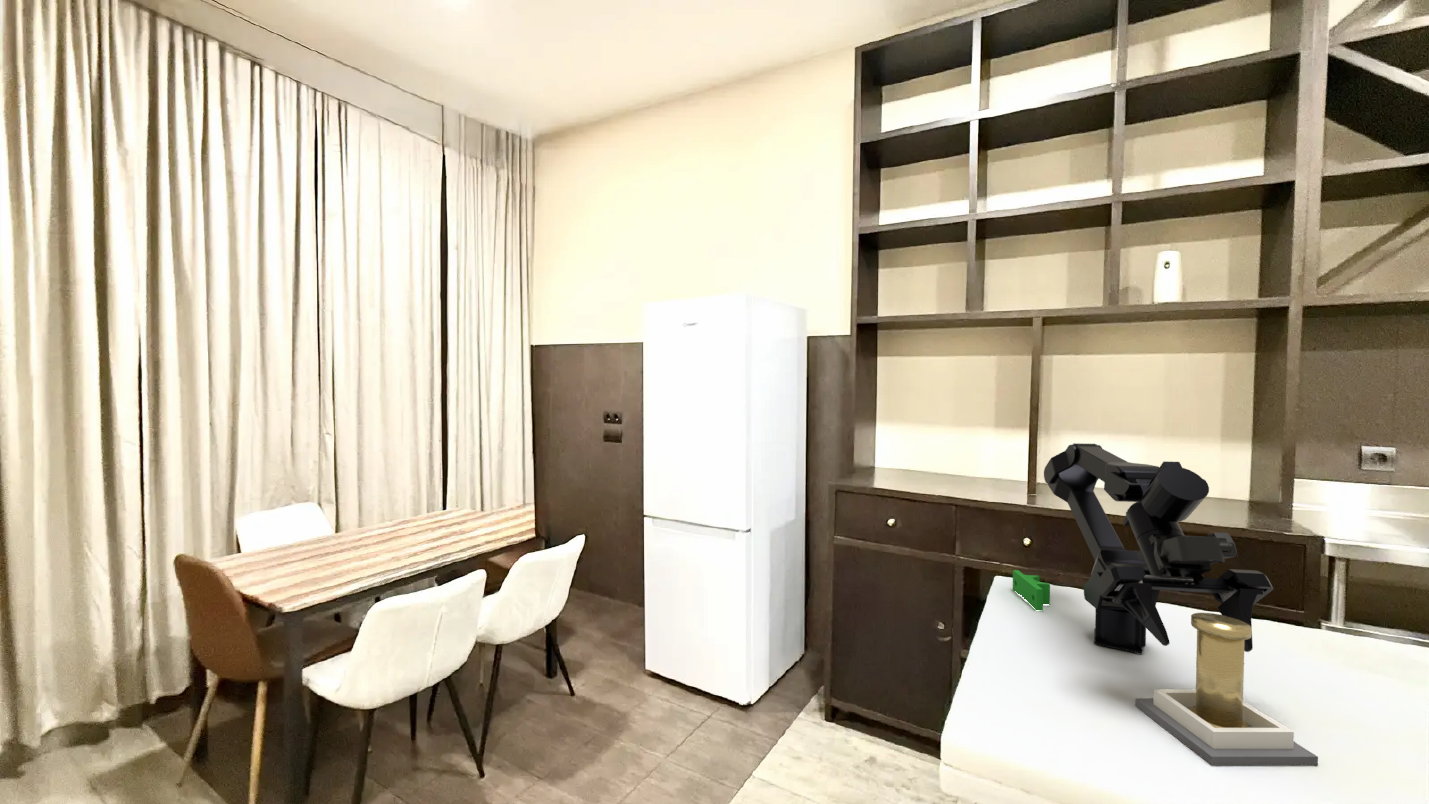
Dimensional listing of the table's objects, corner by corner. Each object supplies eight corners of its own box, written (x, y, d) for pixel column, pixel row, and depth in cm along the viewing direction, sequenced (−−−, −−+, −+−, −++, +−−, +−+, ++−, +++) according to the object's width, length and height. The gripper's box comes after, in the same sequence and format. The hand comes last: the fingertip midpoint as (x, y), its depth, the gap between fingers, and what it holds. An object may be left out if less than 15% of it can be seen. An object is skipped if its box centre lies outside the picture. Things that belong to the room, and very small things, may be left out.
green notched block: (1057, 613, 108) (1057, 589, 108) (1036, 612, 109) (1036, 589, 108) (1031, 591, 119) (1031, 570, 119) (1012, 591, 120) (1012, 569, 120)
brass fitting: (1178, 716, 73) (1180, 616, 72) (1206, 707, 74) (1209, 610, 74) (1230, 742, 67) (1233, 634, 67) (1259, 732, 69) (1262, 627, 69)
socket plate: (1211, 765, 65) (1212, 739, 65) (1135, 705, 77) (1135, 683, 77) (1317, 765, 65) (1318, 739, 65) (1224, 705, 77) (1225, 683, 77)
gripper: (1108, 506, 79) (1151, 617, 69) (1265, 511, 76) (1334, 629, 65) (1082, 545, 87) (1117, 650, 77) (1223, 552, 84) (1278, 662, 73)
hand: (1207, 647), depth 73 cm, fingers open, 9 cm apart
